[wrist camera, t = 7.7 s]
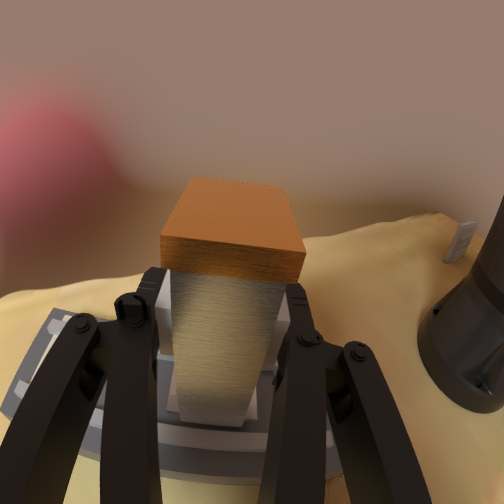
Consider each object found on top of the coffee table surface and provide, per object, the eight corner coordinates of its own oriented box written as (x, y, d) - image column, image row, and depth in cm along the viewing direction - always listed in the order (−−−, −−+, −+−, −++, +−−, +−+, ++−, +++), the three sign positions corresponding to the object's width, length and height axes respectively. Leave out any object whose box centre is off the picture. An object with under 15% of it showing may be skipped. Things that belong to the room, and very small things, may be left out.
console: (312, 363, 21) (324, 338, 20) (333, 479, 13) (354, 466, 11) (61, 328, 19) (51, 301, 18) (16, 426, 11) (-6, 405, 9)
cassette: (459, 250, 48) (473, 218, 44) (466, 255, 47) (480, 223, 43) (440, 259, 42) (457, 221, 38) (448, 265, 41) (465, 227, 37)
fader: (254, 362, 17) (297, 190, 11) (256, 430, 13) (328, 255, 7) (177, 353, 16) (177, 175, 11) (165, 422, 12) (137, 231, 7)
